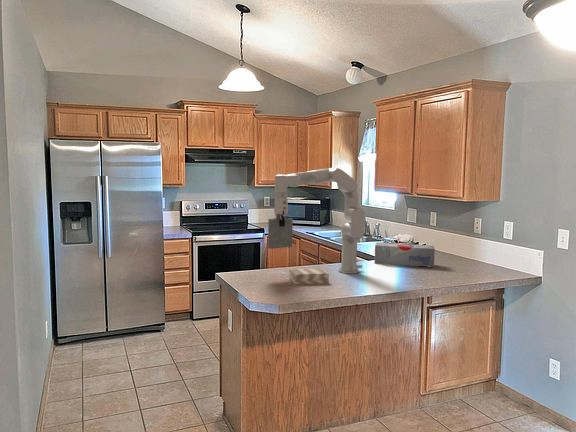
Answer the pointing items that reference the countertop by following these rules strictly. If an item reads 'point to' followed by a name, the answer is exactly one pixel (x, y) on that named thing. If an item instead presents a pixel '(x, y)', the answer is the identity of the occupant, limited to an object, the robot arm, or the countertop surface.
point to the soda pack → (404, 254)
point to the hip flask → (279, 233)
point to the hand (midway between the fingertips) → (280, 225)
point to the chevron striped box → (309, 276)
